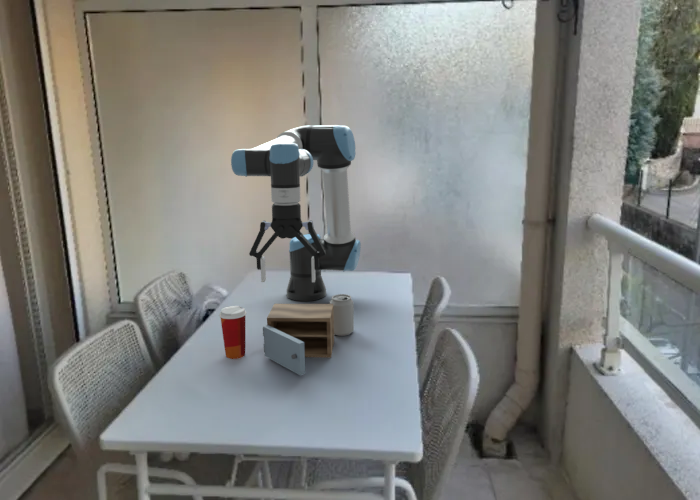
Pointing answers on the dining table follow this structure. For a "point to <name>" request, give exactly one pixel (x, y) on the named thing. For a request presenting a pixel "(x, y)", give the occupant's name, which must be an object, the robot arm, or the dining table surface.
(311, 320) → the cabinet
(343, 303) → the can
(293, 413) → the dining table surface
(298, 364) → the door
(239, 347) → the paper cup
